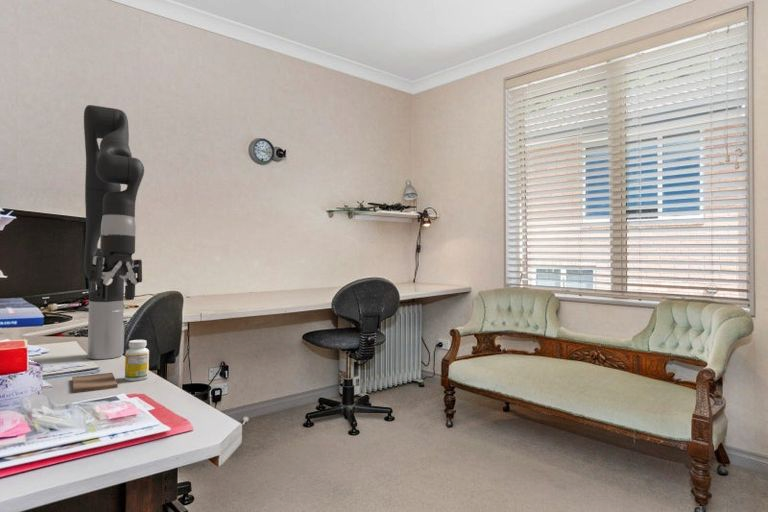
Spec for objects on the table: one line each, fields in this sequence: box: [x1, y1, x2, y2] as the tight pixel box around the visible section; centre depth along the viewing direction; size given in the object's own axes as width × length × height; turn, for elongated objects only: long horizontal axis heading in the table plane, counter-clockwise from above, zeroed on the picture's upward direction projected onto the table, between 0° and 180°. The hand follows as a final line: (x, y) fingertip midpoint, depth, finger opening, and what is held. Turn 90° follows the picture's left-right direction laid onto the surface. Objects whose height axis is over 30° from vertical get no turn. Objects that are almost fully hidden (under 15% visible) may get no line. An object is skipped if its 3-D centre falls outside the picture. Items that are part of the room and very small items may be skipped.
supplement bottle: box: [124, 339, 150, 382], centre depth 119 cm, size 5×5×10 cm
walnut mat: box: [71, 372, 118, 394], centre depth 113 cm, size 13×9×1 cm, turn 35°
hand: (116, 300), depth 115 cm, fingers open, 8 cm apart
